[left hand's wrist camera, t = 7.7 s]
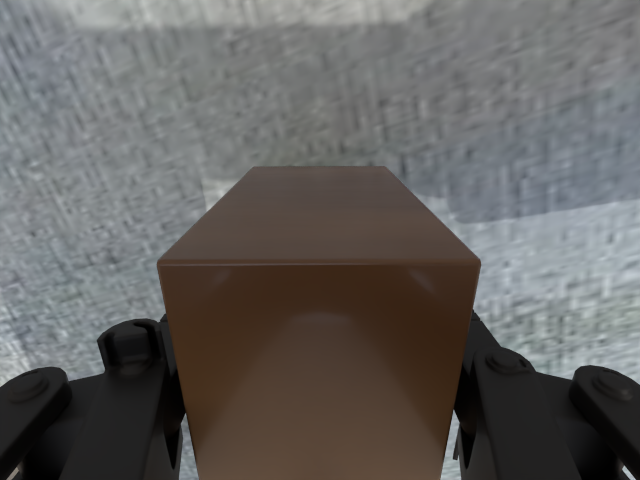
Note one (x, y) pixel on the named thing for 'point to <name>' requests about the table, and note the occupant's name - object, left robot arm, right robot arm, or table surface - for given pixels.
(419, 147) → the table surface
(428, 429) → the beam
